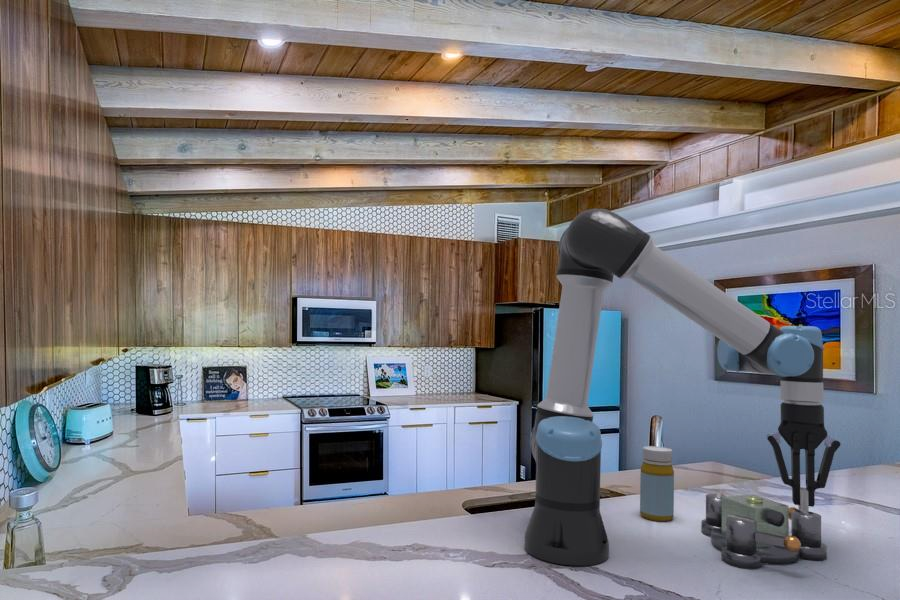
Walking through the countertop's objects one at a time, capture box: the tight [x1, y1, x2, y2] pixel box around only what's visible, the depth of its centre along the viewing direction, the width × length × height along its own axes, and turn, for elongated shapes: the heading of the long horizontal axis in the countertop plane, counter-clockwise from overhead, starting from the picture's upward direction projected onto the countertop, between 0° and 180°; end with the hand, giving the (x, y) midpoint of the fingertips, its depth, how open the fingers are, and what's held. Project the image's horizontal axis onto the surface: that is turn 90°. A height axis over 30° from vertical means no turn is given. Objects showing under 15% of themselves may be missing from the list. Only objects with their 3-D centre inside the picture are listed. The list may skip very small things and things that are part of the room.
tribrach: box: [700, 493, 828, 570], centre depth 114 cm, size 22×20×10 cm
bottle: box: [639, 445, 675, 523], centre depth 131 cm, size 7×7×15 cm
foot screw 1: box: [705, 492, 726, 526], centre depth 124 cm, size 12×5×6 cm, turn 154°
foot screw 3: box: [789, 506, 822, 547], centre depth 114 cm, size 12×5×6 cm, turn 165°
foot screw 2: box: [726, 515, 801, 554], centre depth 103 cm, size 12×5×6 cm, turn 49°
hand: (803, 522), depth 117 cm, fingers closed
